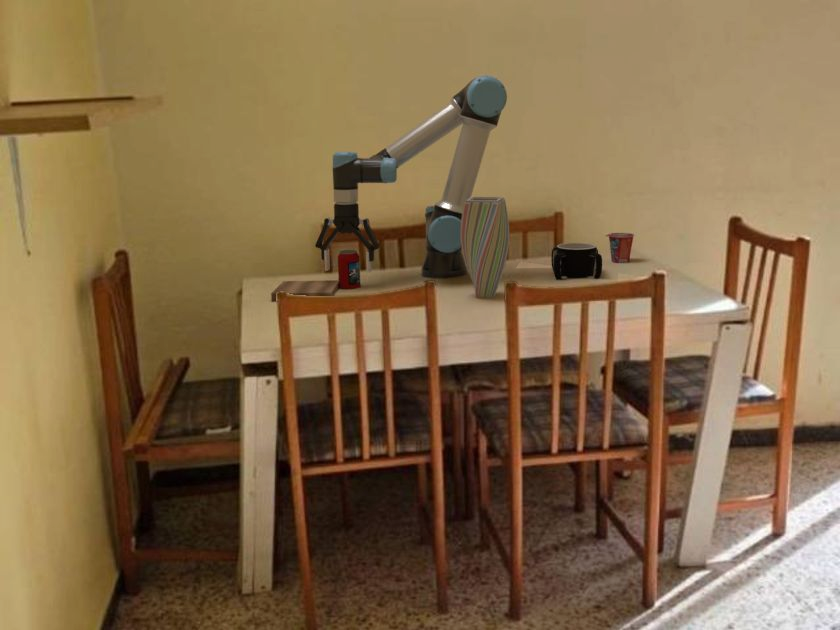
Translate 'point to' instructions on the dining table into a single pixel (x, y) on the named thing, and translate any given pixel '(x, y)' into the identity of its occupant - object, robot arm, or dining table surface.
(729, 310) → the dining table surface
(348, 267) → the beverage can
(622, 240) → the cup
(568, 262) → the black round container
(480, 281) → the vase
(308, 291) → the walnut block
